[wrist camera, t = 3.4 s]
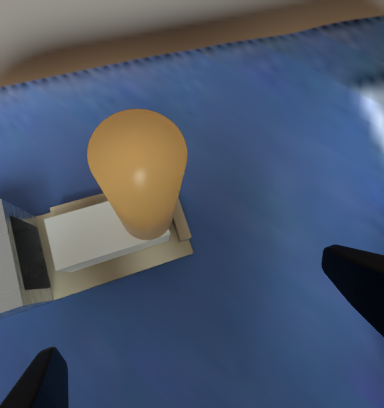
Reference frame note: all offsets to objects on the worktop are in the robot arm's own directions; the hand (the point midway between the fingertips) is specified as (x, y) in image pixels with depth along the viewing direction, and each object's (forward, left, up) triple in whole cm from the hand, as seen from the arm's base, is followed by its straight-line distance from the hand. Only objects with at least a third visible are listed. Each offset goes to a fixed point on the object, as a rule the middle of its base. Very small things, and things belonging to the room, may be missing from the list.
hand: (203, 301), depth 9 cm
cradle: (+1, +6, -13) cm, 14 cm away
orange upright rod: (+2, +6, -12) cm, 13 cm away
